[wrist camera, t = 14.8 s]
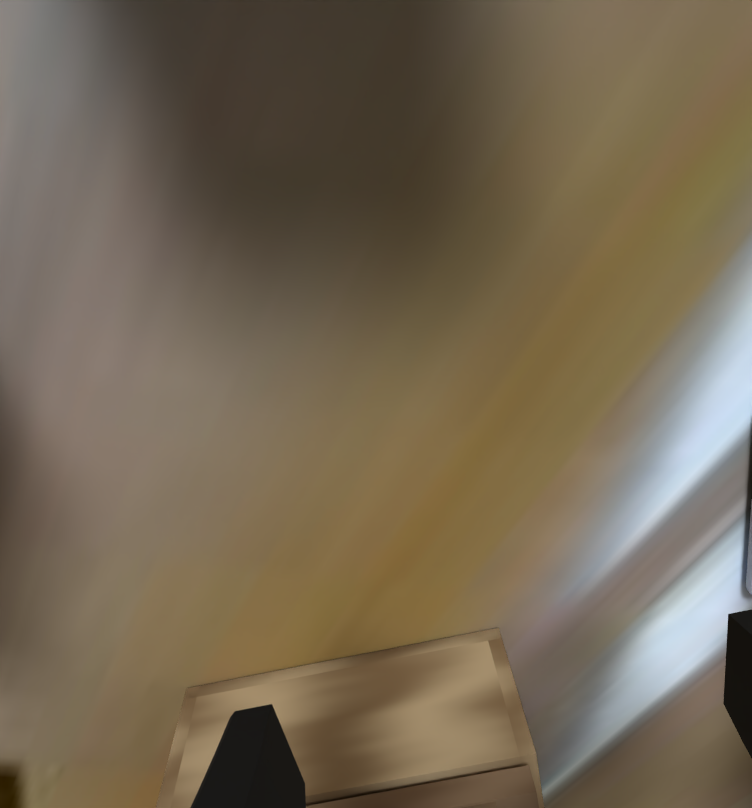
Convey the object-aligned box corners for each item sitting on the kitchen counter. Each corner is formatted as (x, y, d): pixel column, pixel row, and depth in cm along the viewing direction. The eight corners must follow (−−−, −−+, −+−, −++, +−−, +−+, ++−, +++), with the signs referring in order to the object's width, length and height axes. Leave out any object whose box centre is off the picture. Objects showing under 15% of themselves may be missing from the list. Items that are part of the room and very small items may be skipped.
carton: (498, 627, 23) (536, 753, 19) (523, 777, 27) (559, 910, 23) (186, 688, 24) (151, 824, 20) (255, 826, 28) (238, 966, 23)
